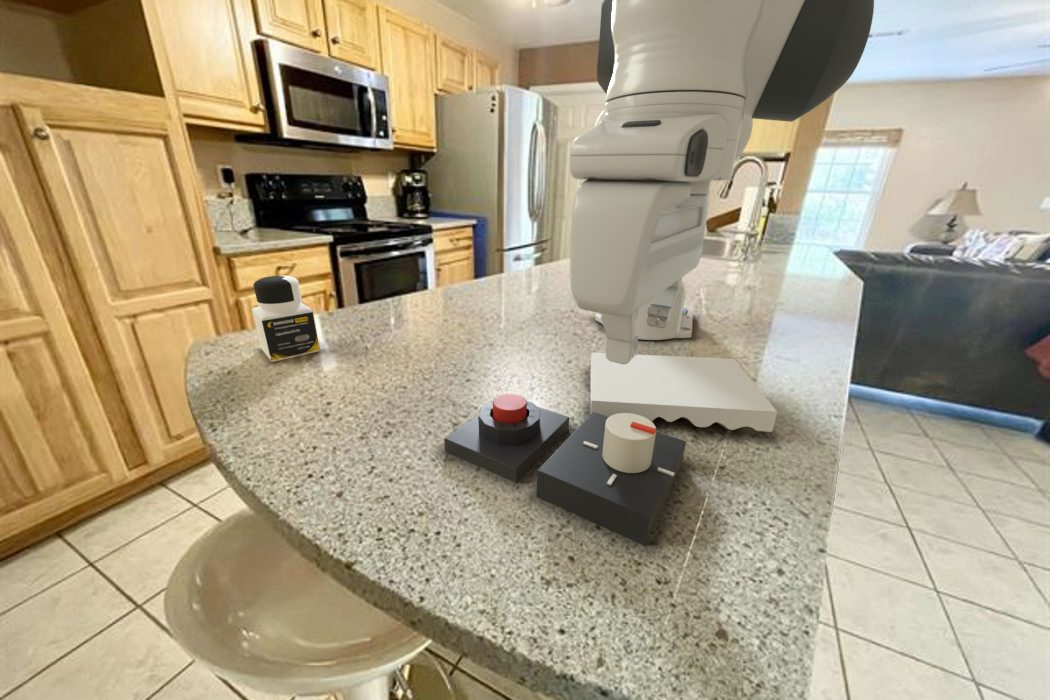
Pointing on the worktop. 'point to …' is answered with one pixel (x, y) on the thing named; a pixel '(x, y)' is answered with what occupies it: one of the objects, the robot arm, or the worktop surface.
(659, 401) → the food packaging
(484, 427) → the box
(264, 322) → the medicine bottle
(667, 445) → the control panel
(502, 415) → the power button
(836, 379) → the worktop surface
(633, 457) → the dial
